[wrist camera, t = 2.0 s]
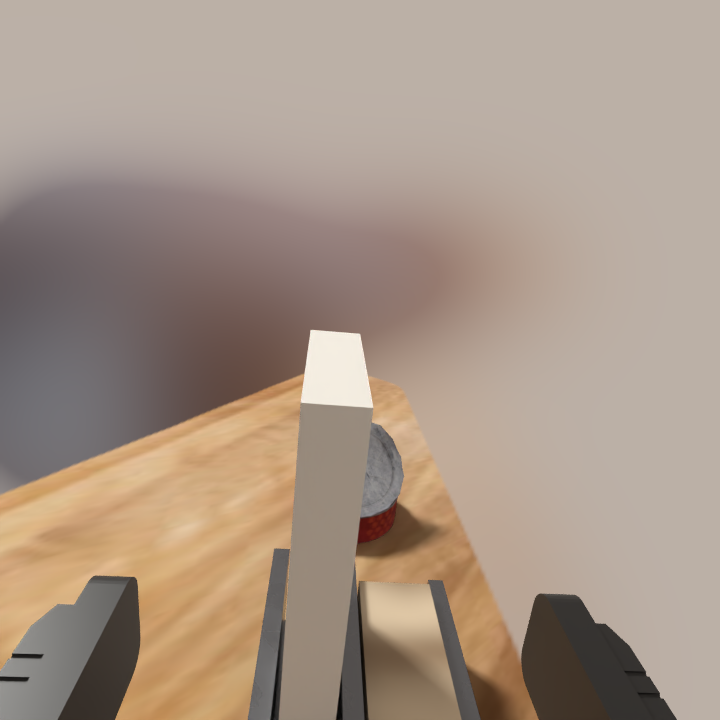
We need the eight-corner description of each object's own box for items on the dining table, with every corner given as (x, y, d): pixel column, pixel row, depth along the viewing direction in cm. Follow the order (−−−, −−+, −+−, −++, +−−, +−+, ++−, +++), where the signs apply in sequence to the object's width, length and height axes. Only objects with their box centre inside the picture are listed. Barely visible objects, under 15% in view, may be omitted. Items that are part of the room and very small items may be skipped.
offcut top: (468, 825, 23) (478, 787, 23) (366, 824, 23) (373, 786, 22) (423, 614, 35) (429, 584, 34) (355, 611, 34) (359, 581, 33)
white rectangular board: (323, 821, 25) (373, 407, 18) (271, 821, 25) (300, 402, 18) (325, 658, 34) (360, 334, 26) (287, 657, 33) (310, 329, 26)
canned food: (386, 540, 55) (442, 483, 50) (329, 585, 47) (389, 520, 42) (320, 460, 59) (367, 400, 54) (256, 488, 51) (305, 420, 46)
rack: (490, 922, 23) (524, 812, 21) (229, 924, 22) (233, 810, 20) (430, 641, 38) (447, 556, 35) (269, 635, 37) (274, 548, 34)
